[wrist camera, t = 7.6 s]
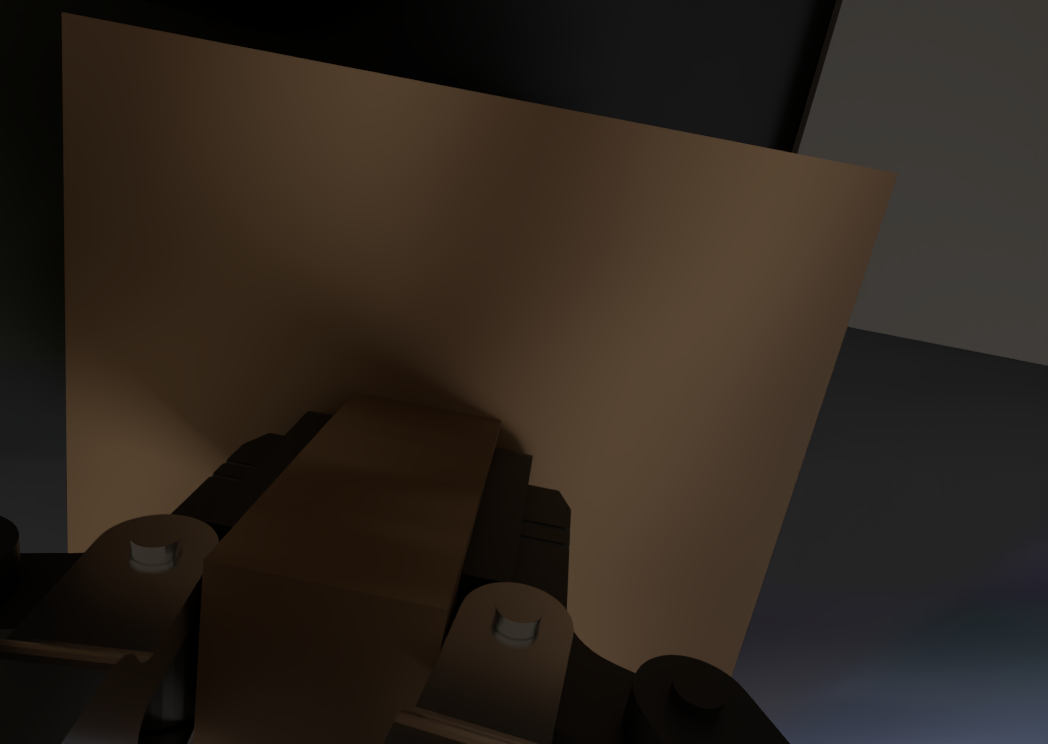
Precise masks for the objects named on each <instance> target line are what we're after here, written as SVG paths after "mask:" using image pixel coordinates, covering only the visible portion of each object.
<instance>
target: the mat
mask: <svg viewBox="0 0 1048 744" xmlns="http://www.w3.org/2000/svg"><path fill="white" fill-rule="evenodd" d="M792 153H795V154H801V155H806V156H811V157H816V158H821V159H827V160H832V161H837V162H842V163H847V164H852V165H858V166H863V167H868V168H873V169H878V170H884V171H889V172H894V173H898V175H897V178H896V181H895V184H894V187H893V190H892V193H891V196H890V199H889V202H888V205H887V208H886V211H885V214H884V217H883V220H882V223H881V226H880V229H879V232H878V235H877V238H876V241H875V244H874V247H873V251H872V254H871V257H870V260H869V263H868V266H867V269H866V272H865V275H864V278H863V281H862V284H861V287H860V290H859V293H858V296H857V299H856V302H855V305H854V308H853V311H852V314H851V317H850V320H849V323H848V326H847V327H852V328H857V329H862V330H868V331H873V332H878V333H883V334H888V335H893V336H898V337H904V338H909V339H914V340H919V341H924V342H929V343H935V344H940V345H945V346H950V347H955V348H960V349H965V350H971V351H976V352H981V353H986V354H991V355H996V356H1002V357H1007V358H1012V359H1017V360H1022V361H1027V362H1032V363H1038V364H1043V365H1048V0H836V3H835V6H834V10H833V13H832V17H831V20H830V23H829V27H828V30H827V34H826V37H825V40H824V44H823V47H822V51H821V54H820V58H819V61H818V64H817V68H816V71H815V75H814V78H813V81H812V85H811V88H810V92H809V95H808V98H807V102H806V105H805V109H804V112H803V115H802V119H801V122H800V126H799V129H798V133H797V136H796V139H795V143H794V146H793V150H792Z"/></svg>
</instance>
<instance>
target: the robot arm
mask: <svg viewBox="0 0 1048 744" xmlns="http://www.w3.org/2000/svg"><path fill="white" fill-rule="evenodd" d="M332 417H333V415H328V414H323V413H318V412H313V411H307V412H306V413H305V414H304V415H303V416H302V417H301V418H300V419H299V421H298V422H297V423H296V424H295V425H294V426H293V427H292V428H291V429H290V430H289V431H288V432H287V433H286V435H285V436H283V435H278V434H273V433H268V434H266V435H263V436H261V437H258V438H256V439H254V440H251V441H249V442H246V443H244V444H242V445H241V446H240V447H239V448H238V449H237V450H236V451H235V452H234V453H233V454H232V455H231V456H230V457H229V458H228V459H227V461H226V463H223V464H222V465H221V466H220V467H219V468H218V469H217V470H216V471H215V472H214V473H213V476H212V477H210V476H209V477H208V478H207V479H206V480H205V481H204V482H203V483H202V484H201V485H200V486H199V487H198V488H197V489H196V490H195V491H194V492H193V493H192V494H191V495H190V496H189V497H188V498H187V499H186V500H185V501H184V502H183V503H181V504H180V505H179V506H178V507H177V508H176V509H175V510H174V511H173V512H172V513H171V514H158V515H148V516H142V517H137V518H134V519H130V520H127V521H124V522H122V523H119V524H117V525H115V526H113V527H111V528H110V529H108V530H107V531H105V532H104V533H102V534H101V535H100V536H99V537H98V538H97V539H96V540H95V541H94V542H93V544H92V545H91V546H90V547H89V548H88V549H87V550H86V551H85V552H84V553H20V545H19V532H18V529H17V527H16V526H15V525H14V524H13V523H12V522H11V521H9V520H8V519H6V518H4V517H1V516H0V744H193V740H194V721H195V703H196V685H197V666H198V648H199V630H200V612H201V593H202V575H203V560H204V559H205V557H206V556H207V555H208V554H209V553H210V552H211V551H212V550H213V549H214V547H215V546H216V545H217V544H218V543H219V542H220V541H221V540H222V539H223V537H224V536H225V535H226V534H227V533H228V532H229V531H230V530H231V529H232V527H233V526H234V525H235V524H236V523H237V522H238V521H239V520H240V519H241V518H242V516H243V515H244V514H245V513H246V512H247V511H248V510H249V509H250V508H251V506H252V505H253V504H254V503H255V502H256V501H257V500H258V499H259V498H260V496H261V495H262V494H263V493H264V492H265V491H266V490H267V489H268V488H269V486H270V485H271V484H272V483H273V482H274V481H275V480H276V479H277V478H278V476H279V475H280V474H281V473H282V472H283V471H284V470H285V469H286V468H287V467H288V465H289V464H290V463H291V462H292V461H293V460H294V459H295V458H296V457H297V455H298V454H299V453H300V452H301V451H302V450H303V449H304V448H305V447H306V445H307V444H308V443H309V442H310V441H311V440H312V439H313V438H314V437H315V435H316V434H317V433H318V432H319V431H320V430H321V429H322V428H323V427H324V425H325V424H326V423H327V422H328V421H329V420H330V419H331V418H332ZM532 458H533V455H529V454H524V453H519V452H514V451H508V450H503V449H498V448H495V451H494V454H493V458H492V462H491V465H490V469H489V473H488V476H487V480H486V484H485V487H484V491H483V495H482V498H481V502H480V506H479V509H478V513H477V517H476V520H475V524H474V528H473V531H472V535H471V539H470V542H469V546H468V550H467V553H466V557H465V561H464V564H463V568H462V572H461V576H460V582H459V587H458V593H457V599H456V604H455V610H454V615H453V621H452V626H451V628H450V631H449V633H448V635H447V637H446V640H445V642H444V644H443V646H442V648H441V651H440V653H439V655H438V657H437V660H436V662H435V664H434V666H433V668H432V671H431V673H430V675H429V677H428V680H427V682H426V684H425V686H424V688H423V691H422V693H421V695H420V697H419V700H418V702H417V704H416V706H415V708H414V710H413V712H411V711H408V710H405V709H404V710H402V711H401V712H400V713H399V714H398V716H397V718H396V719H395V721H394V723H393V725H392V727H391V729H390V731H389V733H388V735H387V737H386V739H385V741H384V743H383V744H790V743H789V742H788V741H787V740H786V738H785V737H784V736H783V735H782V734H781V733H780V731H779V730H778V729H777V728H776V727H775V725H774V724H773V723H772V722H771V721H770V719H769V718H768V717H767V716H766V715H765V714H764V712H763V711H762V710H761V709H760V708H759V706H758V705H757V704H756V703H755V702H754V700H753V699H752V698H751V697H750V696H749V695H748V693H747V692H746V691H745V690H744V689H743V688H742V687H741V686H740V685H739V683H738V682H736V681H735V680H734V679H733V678H732V677H730V676H729V675H728V674H726V673H725V672H723V671H722V670H720V669H719V668H717V667H715V666H713V665H711V664H709V663H706V662H704V661H702V660H699V659H695V658H692V657H688V656H682V655H662V656H658V657H654V658H652V659H650V660H647V661H646V662H645V663H643V664H642V665H641V666H640V667H639V669H638V670H637V671H636V673H634V672H632V671H630V670H627V669H625V668H623V667H621V666H619V665H617V664H614V663H612V662H610V661H608V660H606V659H605V658H603V657H601V656H600V655H598V654H596V653H595V652H593V651H592V650H591V649H590V648H589V647H587V646H586V645H585V644H584V643H583V642H582V641H581V640H580V639H579V638H578V636H577V635H576V634H575V632H574V626H573V621H572V618H571V616H570V614H569V613H568V611H567V596H568V572H569V545H570V524H571V509H570V507H569V506H568V504H567V502H566V501H565V499H564V498H563V496H562V494H561V493H560V491H558V490H553V489H548V488H543V487H538V486H533V485H528V484H529V477H530V471H531V465H532Z"/></svg>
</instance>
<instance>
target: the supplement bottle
mask: <svg viewBox="0 0 1048 744" xmlns="http://www.w3.org/2000/svg"><path fill="white" fill-rule="evenodd" d="M144 1H148V2H151V3H155V4H158V5H162V6H165V7H169V8H173V9H176V10H180V11H183V12H187V13H190V14H194V15H197V16H201V17H204V18H208V19H211V20H215V21H218V22H223V23H227V24H231V25H235V26H239V27H244V28H248V29H253V30H260V31H273V32H287V31H298V30H303V29H308V28H313V27H316V26H319V25H322V24H325V23H327V22H330V21H332V20H334V19H336V18H338V17H340V16H342V15H344V14H345V13H347V12H349V11H350V10H352V9H353V8H354V7H356V6H357V5H358V4H360V3H361V2H362V1H364V0H144Z"/></svg>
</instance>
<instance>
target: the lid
mask: <svg viewBox="0 0 1048 744" xmlns="http://www.w3.org/2000/svg"><path fill="white" fill-rule="evenodd" d="M62 80H63V167H64V254H65V341H66V428H67V514H68V553H84V552H85V551H86V550H87V549H88V548H89V547H90V546H91V545H92V544H93V542H94V541H95V540H96V539H97V538H98V537H99V536H100V535H101V534H102V533H104V532H105V531H107V530H108V529H110V528H111V527H113V526H115V525H117V524H119V523H122V522H124V521H127V520H130V519H134V518H137V517H142V516H148V515H158V514H171V513H172V512H173V511H174V510H175V509H176V508H177V507H178V506H179V505H180V504H181V503H183V502H184V501H185V500H186V499H187V498H188V497H189V496H190V495H191V494H192V493H193V492H194V491H195V490H196V489H197V488H198V487H199V486H200V485H201V484H202V483H203V482H204V481H205V480H206V479H207V478H208V477H209V476H210V477H212V476H213V473H214V472H215V471H216V470H217V469H218V468H219V467H220V466H221V465H222V464H223V463H226V461H227V459H228V458H229V457H230V456H231V455H232V454H233V453H234V452H235V451H236V450H237V449H238V448H239V447H240V446H241V445H242V444H244V443H246V442H249V441H251V440H254V439H256V438H258V437H261V436H263V435H266V434H268V433H273V434H278V435H283V436H285V435H286V433H287V432H288V431H289V430H290V429H291V428H292V427H293V426H294V425H295V424H296V423H297V422H298V421H299V419H300V418H301V417H302V416H303V415H304V414H305V413H306V412H307V411H313V412H318V413H323V414H328V415H333V417H332V418H331V419H330V420H329V421H328V422H327V423H326V424H325V425H324V427H323V428H322V429H321V430H320V431H319V432H318V433H317V434H316V435H315V437H314V438H313V439H312V440H311V441H310V442H309V443H308V444H307V445H306V447H305V448H304V449H303V450H302V451H301V452H300V453H299V454H298V455H297V457H296V458H295V459H294V460H293V461H292V462H291V463H290V464H289V465H288V467H287V468H286V469H285V470H284V471H283V472H282V473H281V474H280V475H279V476H278V478H277V479H276V480H275V481H274V482H273V483H272V484H271V485H270V486H269V488H268V489H267V490H266V491H265V492H264V493H263V494H262V495H261V496H260V498H259V499H258V500H257V501H256V502H255V503H254V504H253V505H252V506H251V508H250V509H249V510H248V511H247V512H246V513H245V514H244V515H243V516H242V518H241V519H240V520H239V521H238V522H237V523H236V524H235V525H234V526H233V527H232V529H231V530H230V531H229V532H228V533H227V534H226V535H225V536H224V537H223V539H222V540H221V541H220V542H219V543H218V544H217V545H216V546H215V547H214V549H213V550H212V551H211V552H210V553H209V554H208V555H207V556H206V557H205V559H204V560H203V575H202V593H201V612H200V630H199V648H198V666H197V685H196V703H195V721H194V740H193V744H383V743H384V741H385V739H386V737H387V735H388V733H389V731H390V729H391V727H392V725H393V723H394V721H395V719H396V718H397V716H398V714H399V713H400V712H401V711H402V710H404V709H405V710H408V711H411V712H413V710H414V708H415V706H416V704H417V702H418V700H419V697H420V695H421V693H422V691H423V688H424V686H425V684H426V682H427V680H428V677H429V675H430V673H431V671H432V668H433V666H434V664H435V662H436V660H437V657H438V655H439V653H440V651H441V648H442V646H443V644H444V642H445V640H446V637H447V635H448V633H449V631H450V628H451V626H452V621H453V615H454V610H455V604H456V599H457V593H458V587H459V582H460V576H461V572H462V568H463V564H464V561H465V557H466V553H467V550H468V546H469V542H470V539H471V535H472V531H473V528H474V524H475V520H476V517H477V513H478V509H479V506H480V502H481V498H482V495H483V491H484V487H485V484H486V480H487V476H488V473H489V469H490V465H491V462H492V458H493V454H494V451H495V448H498V449H503V450H508V451H514V452H519V453H524V454H529V455H533V458H532V465H531V471H530V477H529V484H528V485H533V486H538V487H543V488H548V489H553V490H558V491H560V493H561V494H562V496H563V498H564V499H565V501H566V502H567V504H568V506H569V507H570V509H571V524H570V545H569V572H568V596H567V611H568V613H569V614H570V616H571V618H572V621H573V626H574V632H575V634H576V635H577V636H578V638H579V639H580V640H581V641H582V642H583V643H584V644H585V645H586V646H587V647H589V648H590V649H591V650H592V651H593V652H595V653H596V654H598V655H600V656H601V657H603V658H605V659H606V660H608V661H610V662H612V663H614V664H617V665H619V666H621V667H623V668H625V669H627V670H630V671H632V672H634V673H636V671H637V670H638V669H639V667H640V666H641V665H642V664H643V663H645V662H646V661H647V660H650V659H652V658H654V657H658V656H662V655H682V656H688V657H692V658H695V659H699V660H702V661H704V662H706V663H709V664H711V665H713V666H715V667H717V668H719V669H720V670H722V671H723V672H725V673H726V674H728V675H729V676H730V677H731V676H732V673H733V670H734V667H735V664H736V661H737V658H738V655H739V652H740V649H741V646H742V643H743V640H744V637H745V634H746V631H747V628H748V625H749V622H750V619H751V616H752V613H753V610H754V607H755V604H756V601H757V598H758V595H759V592H760V589H761V586H762V582H763V579H764V576H765V573H766V570H767V567H768V564H769V561H770V558H771V555H772V552H773V549H774V546H775V543H776V540H777V537H778V534H779V531H780V528H781V525H782V522H783V519H784V516H785V513H786V510H787V507H788V504H789V501H790V498H791V495H792V492H793V489H794V486H795V483H796V480H797V477H798V474H799V471H800V468H801V465H802V462H803V459H804V456H805V453H806V450H807V447H808V444H809V441H810V438H811V435H812V432H813V429H814V426H815V423H816V420H817V416H818V413H819V410H820V407H821V404H822V401H823V398H824V395H825V392H826V389H827V386H828V383H829V380H830V377H831V374H832V371H833V368H834V365H835V362H836V359H837V356H838V353H839V350H840V347H841V344H842V341H843V338H844V335H845V332H846V329H847V326H848V323H849V320H850V317H851V314H852V311H853V308H854V305H855V302H856V299H857V296H858V293H859V290H860V287H861V284H862V281H863V278H864V275H865V272H866V269H867V266H868V263H869V260H870V257H871V254H872V251H873V247H874V244H875V241H876V238H877V235H878V232H879V229H880V226H881V223H882V220H883V217H884V214H885V211H886V208H887V205H888V202H889V199H890V196H891V193H892V190H893V187H894V184H895V181H896V178H897V175H898V173H894V172H889V171H884V170H878V169H873V168H868V167H863V166H858V165H852V164H847V163H842V162H837V161H832V160H827V159H821V158H816V157H811V156H806V155H801V154H795V153H790V152H785V151H780V150H775V149H769V148H764V147H759V146H754V145H749V144H744V143H738V142H733V141H728V140H723V139H718V138H712V137H707V136H702V135H697V134H692V133H687V132H681V131H676V130H671V129H666V128H661V127H655V126H650V125H645V124H640V123H635V122H629V121H624V120H619V119H614V118H609V117H604V116H598V115H593V114H588V113H583V112H578V111H572V110H567V109H562V108H557V107H552V106H547V105H541V104H536V103H531V102H526V101H521V100H515V99H510V98H505V97H500V96H495V95H489V94H484V93H479V92H474V91H469V90H464V89H458V88H453V87H448V86H443V85H438V84H432V83H427V82H422V81H417V80H412V79H407V78H401V77H396V76H391V75H386V74H381V73H375V72H370V71H365V70H360V69H355V68H349V67H344V66H339V65H334V64H329V63H324V62H318V61H313V60H308V59H303V58H298V57H292V56H287V55H282V54H277V53H272V52H267V51H261V50H256V49H251V48H246V47H241V46H235V45H230V44H225V43H220V42H215V41H209V40H204V39H199V38H194V37H189V36H184V35H178V34H173V33H168V32H163V31H158V30H152V29H147V28H142V27H137V26H132V25H126V24H121V23H116V22H111V21H106V20H101V19H95V18H90V17H85V16H80V15H75V14H69V13H64V12H62Z"/></svg>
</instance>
